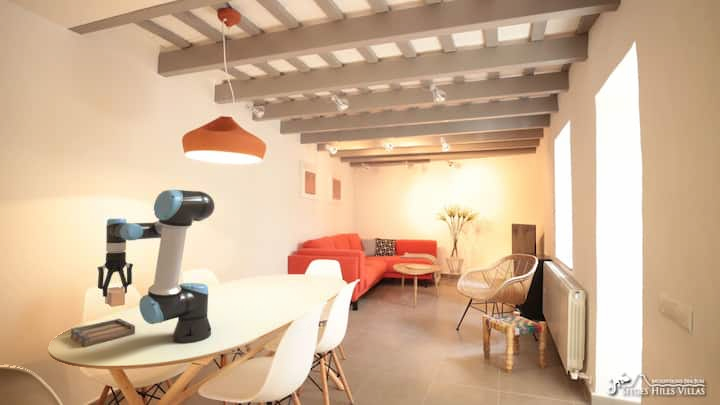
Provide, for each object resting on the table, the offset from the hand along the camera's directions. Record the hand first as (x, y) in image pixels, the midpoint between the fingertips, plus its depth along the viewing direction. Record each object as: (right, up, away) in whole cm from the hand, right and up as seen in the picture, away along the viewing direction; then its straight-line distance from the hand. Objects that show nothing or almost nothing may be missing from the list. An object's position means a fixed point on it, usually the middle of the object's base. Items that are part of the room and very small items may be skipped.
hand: (114, 301), depth 157 cm
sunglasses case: (0, -1, 0) cm, 1 cm away
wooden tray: (+2, -12, -9) cm, 15 cm away
